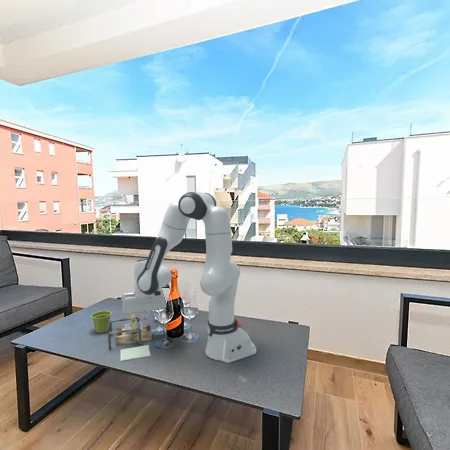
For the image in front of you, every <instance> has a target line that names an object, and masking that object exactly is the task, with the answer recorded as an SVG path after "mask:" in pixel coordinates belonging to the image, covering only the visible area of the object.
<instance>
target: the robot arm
mask: <svg viewBox="0 0 450 450" xmlns="http://www.w3.org/2000/svg"><path fill="white" fill-rule="evenodd" d="M228 212H229V211H228V210H227V209H226V208H225V207H222V206H217V200H216V198H215V197H214V196H213V195H212V194H211V193H208V192H201V191H190V192H186V193H185V194H183V195H182V196H180V198H179V199H178V200H173V201H172V202H171V203H169V206H168V207H167V210H166V211H165V213H164V216H163V220H162V222H161V226H160V229H159V231H158V234H157V237H156V239H155V240H154V242H153V244H152V247H151V249H150V251H149V254H148V257H144V258H140V259H138V260H136V261H135V263H134V267H133V279H134V292H127V293H124V294H123V295H122V296H121V303H122V313H123V315H124V314H135V313H139V316H141V321H145V320H149V316H150V314H151V311H154V310H159V309H165V307H166V300H165V297H164V294H163V290H162V287H164V286H165V285H167V284H170V283H171V281H172V279H173V274H172V273H173V272H172V271H171V269H170V268H169V267H167V266H165V265H162V264H163V261H164V258H165V257H166V255H167V254H168V253H169V252H170V251H171V250H172V249H173V248H174V247H176V246H177V245H179V244H180V243H181V242H182V241H183V238H184V237H185V234H186V232H187V228H188V225H189V222H190V220H191V219H192V220H196V221H202V222H203V224H204V235H205V248H206V251H205V261H204V266H203V267H204V268H203V272H202V275H201V277H200V280H199V286H200V288H201V291H202V292H203V293H204V294H205V295H207V296H210V299H209V301H208V302H209V303H208V320H207V334H208V338H207V343H206V347H205V351H204V353H205V355H206V356H207V357H208V358H210V359H212V360H215V361H219V362H220V361H221V362H224V363H226V364H231V363H233V362H236V361H239V360H241V359H245V358H249V357H250V356H253V355H256V354H257V347H256V345H255V344H254V342H252V341H251V337H250V335H249V334H248V333H247V332H246V331H245V330H244V329H242V327H243V324H242V323H241V322H240V321H238V319H236V318H235V300H236V295H237V290H238V283H239V278H240V276H241V270H240V267H239V265H238V264H237V263H235V261H231V260H230V259H231V256H232V253H233V239H232V228H231V220H230V216H229V213H228ZM143 312H147V313H146V314H143Z"/></svg>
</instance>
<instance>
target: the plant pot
mask: <svg viewBox="0 0 450 450" xmlns="http://www.w3.org/2000/svg"><path fill="white" fill-rule="evenodd" d="M111 315H112V312H111V311H110V310H101V311H100V310H99V311H96V312H93V313H92V314H91V315H90V318H92V320H93V326H94V331H95V333H97V334H102V333H106V332H108V331H109V330H110V327H109V322H110V319H111Z"/></svg>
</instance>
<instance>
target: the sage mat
mask: <svg viewBox="0 0 450 450" xmlns="http://www.w3.org/2000/svg"><path fill="white" fill-rule="evenodd" d="M149 346H150V345H149V344H147V345H141V346H140V345H139V346H136V347H135V346H134V347H130V348H122V349H120V352H119V353H120V362H127V361H132V360H138V359H143V358H148V357H151V352H150V347H149Z"/></svg>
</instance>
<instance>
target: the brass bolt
mask: <svg viewBox="0 0 450 450" xmlns="http://www.w3.org/2000/svg"><path fill="white" fill-rule="evenodd" d="M135 317H136V314H135V313H130V318H131V320H130V323H131V327H132V330H134V329H136V322H137V319H135Z"/></svg>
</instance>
